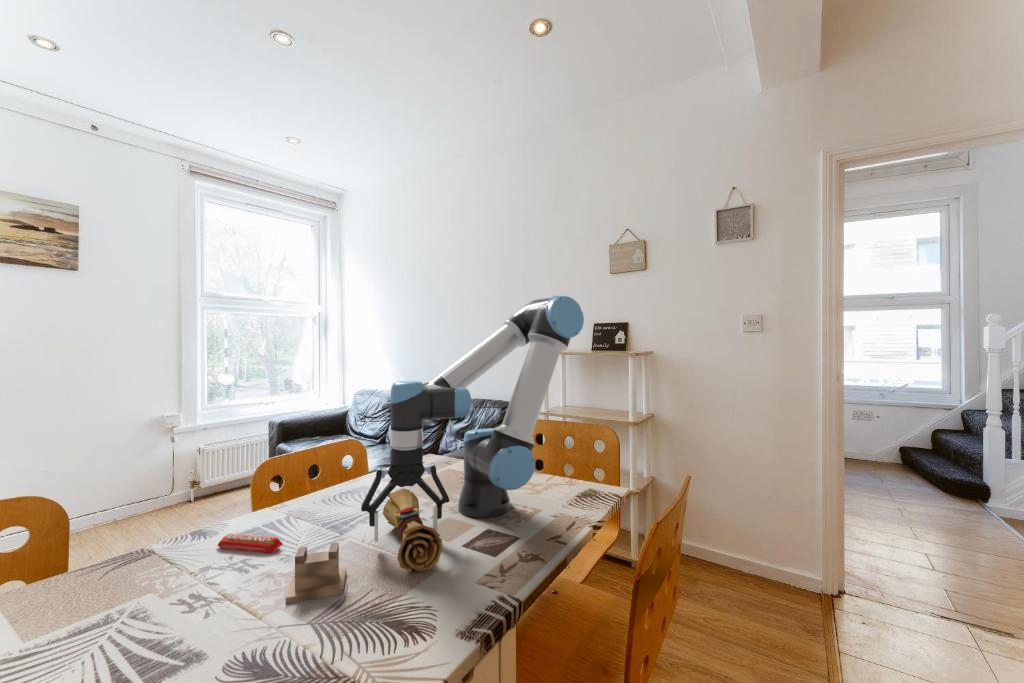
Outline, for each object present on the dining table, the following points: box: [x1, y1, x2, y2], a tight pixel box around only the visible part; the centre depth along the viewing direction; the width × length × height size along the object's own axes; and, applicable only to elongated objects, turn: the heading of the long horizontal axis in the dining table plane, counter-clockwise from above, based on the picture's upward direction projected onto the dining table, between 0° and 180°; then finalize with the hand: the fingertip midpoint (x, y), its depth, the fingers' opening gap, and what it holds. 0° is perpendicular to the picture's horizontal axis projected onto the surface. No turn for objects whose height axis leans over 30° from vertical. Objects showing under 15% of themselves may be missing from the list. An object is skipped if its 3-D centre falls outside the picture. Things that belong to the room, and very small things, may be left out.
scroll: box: [382, 488, 444, 572], centre depth 102 cm, size 27×10×10 cm, turn 24°
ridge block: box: [285, 542, 347, 604], centre depth 86 cm, size 10×8×8 cm
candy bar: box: [216, 533, 284, 555], centre depth 102 cm, size 16×4×3 cm, turn 79°
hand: (406, 535), depth 102 cm, fingers open, 13 cm apart
